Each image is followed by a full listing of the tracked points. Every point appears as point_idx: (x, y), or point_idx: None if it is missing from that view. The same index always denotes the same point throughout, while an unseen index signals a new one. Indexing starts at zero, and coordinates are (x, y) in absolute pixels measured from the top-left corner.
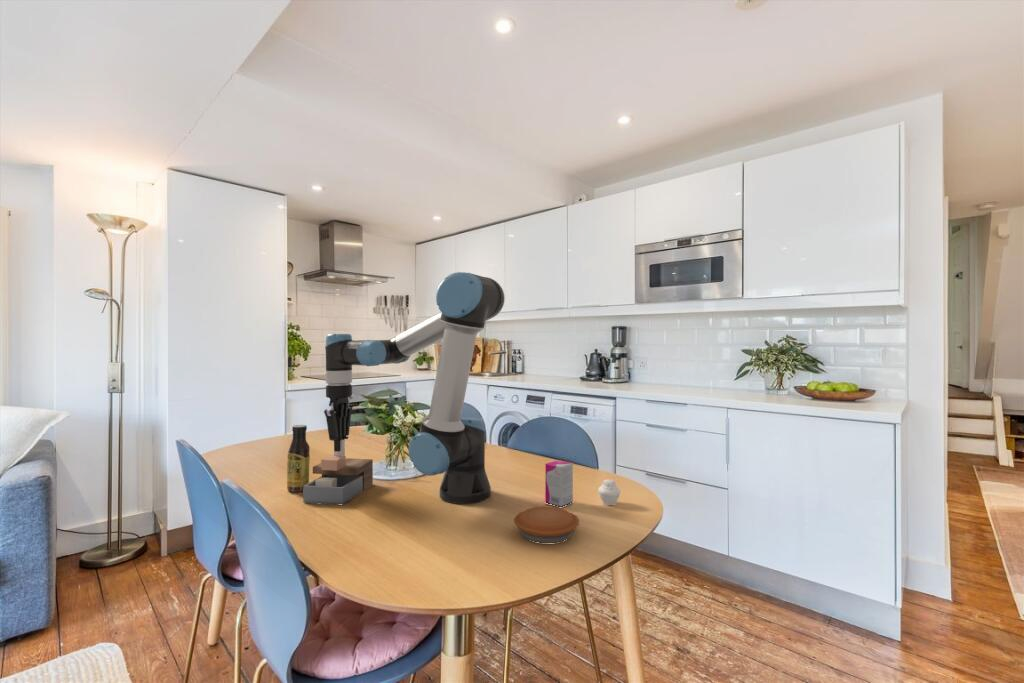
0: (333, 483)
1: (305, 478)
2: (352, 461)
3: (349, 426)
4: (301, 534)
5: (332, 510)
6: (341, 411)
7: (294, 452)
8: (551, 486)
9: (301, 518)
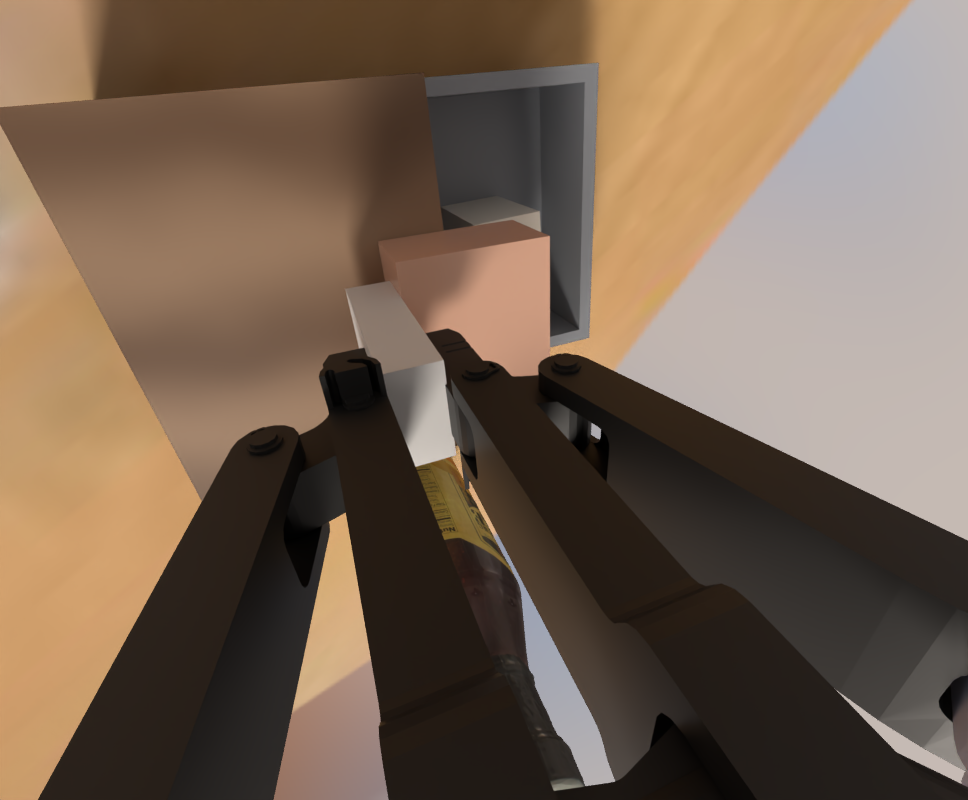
0: (507, 212)
1: None
2: (217, 283)
3: (192, 540)
4: (851, 42)
5: (617, 83)
6: (908, 789)
7: (519, 592)
8: None
9: (705, 174)
